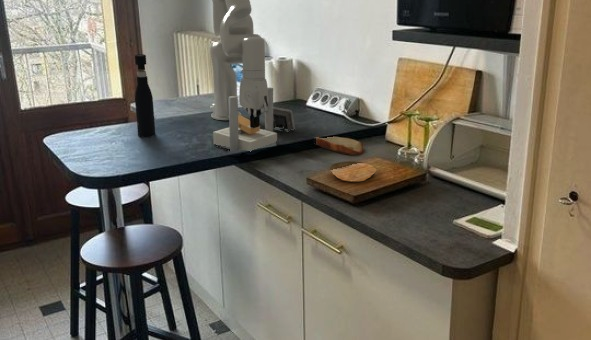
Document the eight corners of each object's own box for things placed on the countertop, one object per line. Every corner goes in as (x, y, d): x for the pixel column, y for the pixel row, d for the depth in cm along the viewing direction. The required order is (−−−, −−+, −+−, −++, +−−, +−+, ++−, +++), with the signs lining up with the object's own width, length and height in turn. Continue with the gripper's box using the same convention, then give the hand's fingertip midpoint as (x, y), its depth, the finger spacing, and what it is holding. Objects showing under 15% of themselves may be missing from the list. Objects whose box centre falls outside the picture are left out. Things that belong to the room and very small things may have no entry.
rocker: (229, 122, 203) (230, 117, 202) (239, 119, 207) (240, 114, 206) (249, 134, 198) (250, 128, 197) (259, 131, 202) (260, 125, 201)
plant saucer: (322, 181, 175) (322, 173, 174) (336, 166, 188) (336, 158, 187) (369, 188, 170) (370, 180, 169) (380, 172, 183) (381, 164, 182)
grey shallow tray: (213, 145, 205) (213, 128, 203) (240, 136, 215) (240, 120, 213) (250, 156, 195) (249, 138, 192) (276, 146, 205) (277, 129, 203)
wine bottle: (159, 133, 217) (153, 54, 206) (148, 138, 212) (141, 57, 201) (145, 131, 220) (138, 53, 209) (134, 136, 214) (127, 55, 204)
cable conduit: (224, 154, 196) (222, 97, 189) (234, 150, 200) (233, 94, 193) (234, 157, 193) (233, 99, 186) (244, 153, 197) (243, 97, 190)
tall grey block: (259, 142, 209) (259, 88, 202) (268, 139, 213) (268, 86, 206) (269, 145, 206) (269, 90, 199) (278, 141, 210) (278, 88, 203)
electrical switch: (295, 131, 223) (294, 108, 219) (288, 135, 219) (287, 112, 215) (276, 127, 228) (274, 105, 224) (268, 131, 224) (267, 109, 220)
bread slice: (312, 140, 214) (312, 130, 212) (360, 140, 213) (360, 131, 212) (312, 156, 197) (313, 145, 195) (365, 157, 197) (365, 146, 195)
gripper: (230, 73, 195) (232, 125, 201) (263, 78, 186) (263, 132, 192) (245, 70, 200) (246, 121, 206) (278, 75, 191) (278, 128, 197)
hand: (255, 126), depth 199 cm, fingers closed
